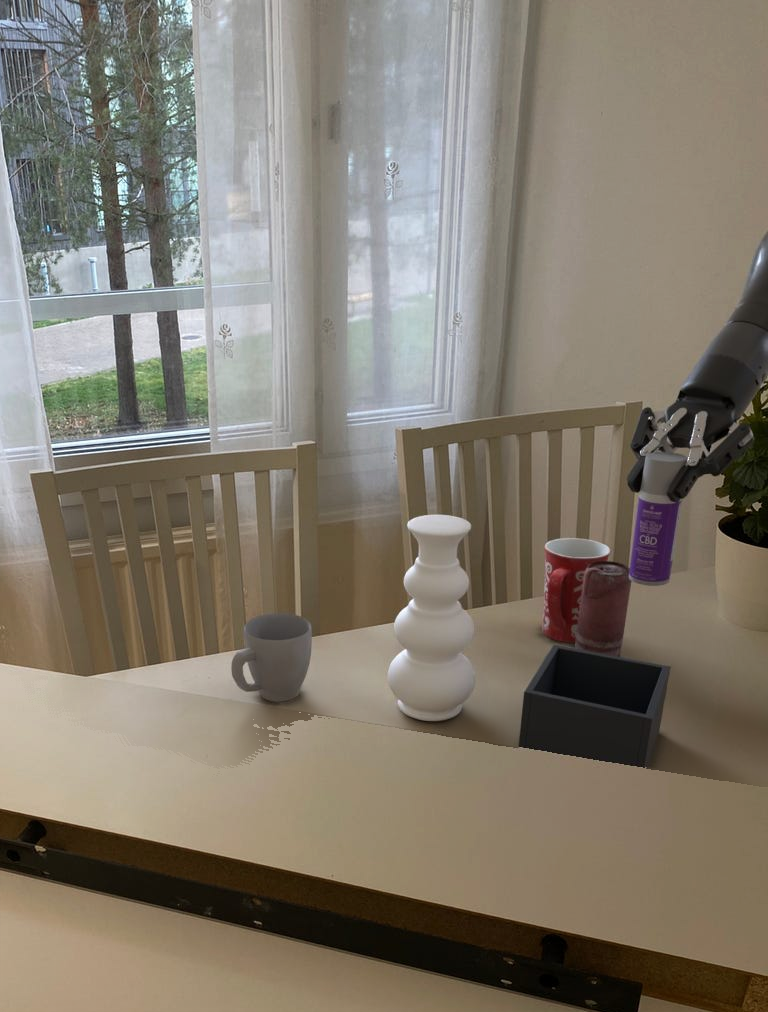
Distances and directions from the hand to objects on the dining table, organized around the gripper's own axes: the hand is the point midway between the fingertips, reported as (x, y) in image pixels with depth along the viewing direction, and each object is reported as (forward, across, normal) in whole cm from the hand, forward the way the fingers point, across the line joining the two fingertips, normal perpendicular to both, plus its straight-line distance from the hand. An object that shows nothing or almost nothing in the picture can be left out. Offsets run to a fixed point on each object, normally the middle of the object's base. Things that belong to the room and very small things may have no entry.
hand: (652, 492), depth 105 cm
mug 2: (+13, -18, +27) cm, 35 cm away
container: (+7, 0, +9) cm, 11 cm away
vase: (+34, -14, +5) cm, 37 cm away
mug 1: (+44, -29, -5) cm, 53 cm away
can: (+15, -10, +25) cm, 31 cm away
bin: (+28, +4, +12) cm, 30 cm away
